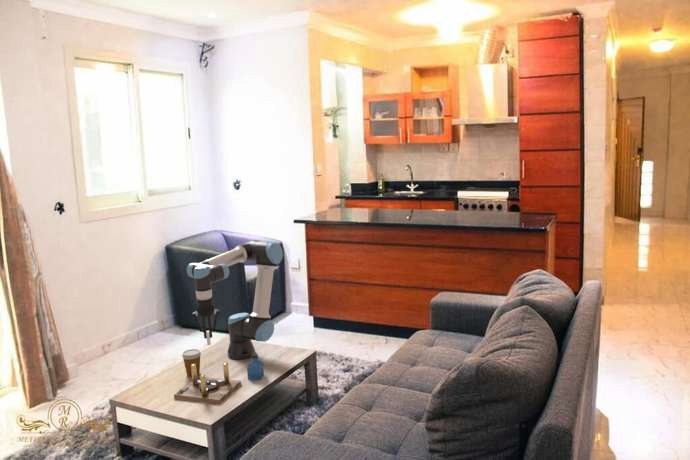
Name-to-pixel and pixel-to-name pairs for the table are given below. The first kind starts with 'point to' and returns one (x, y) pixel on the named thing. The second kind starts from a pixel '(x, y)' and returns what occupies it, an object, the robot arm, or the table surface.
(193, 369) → the capstan
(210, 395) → the stand
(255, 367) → the perfume bottle
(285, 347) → the table surface
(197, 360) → the disposable coffee cup
